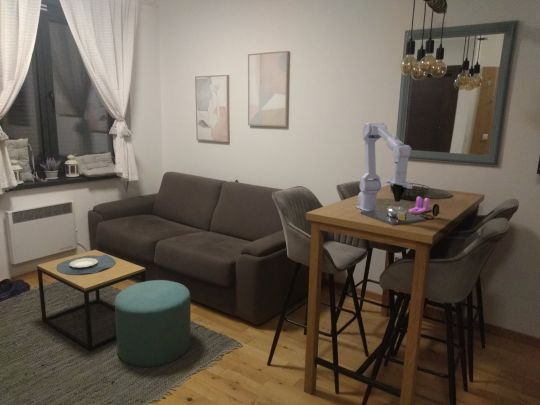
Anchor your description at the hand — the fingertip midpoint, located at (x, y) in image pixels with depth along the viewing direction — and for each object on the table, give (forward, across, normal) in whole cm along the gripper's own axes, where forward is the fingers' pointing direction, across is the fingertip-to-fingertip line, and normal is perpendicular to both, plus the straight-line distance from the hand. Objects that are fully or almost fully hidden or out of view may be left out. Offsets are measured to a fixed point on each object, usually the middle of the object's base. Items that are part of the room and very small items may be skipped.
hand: (397, 201), depth 189 cm
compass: (+10, +2, +19) cm, 22 cm away
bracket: (+10, -10, +25) cm, 29 cm away
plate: (+9, -6, +3) cm, 12 cm away
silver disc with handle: (+8, -1, +3) cm, 9 cm away
